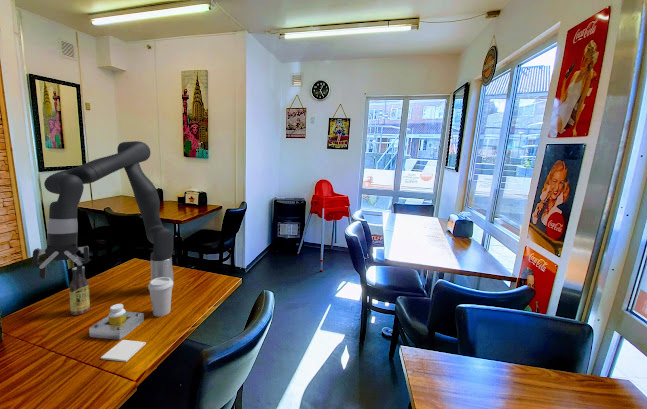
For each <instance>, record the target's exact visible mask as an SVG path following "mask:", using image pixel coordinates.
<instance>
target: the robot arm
mask: <svg viewBox="0 0 647 409" xmlns="http://www.w3.org/2000/svg"><path fill="white" fill-rule="evenodd" d="M150 157H151V149H150V147H149V145H148V144H147V143H145V142H143V141H140V140H139V141H138V140H137V141H136V140H135V141H122V142H120V143H119V144H118V146H117V153H115V154H110V155H107V156H103V157H99V158H95V159H93V160H90V161H88V162H85V163H83V164H81V165H79V166H77V167H73V168H69V169H65V170H61V171H58V172H55V173H53V174H51V175H49V176H48V177H47V178H45V181H44V183H43V184H44V185H43V186H44V188H45V190H46V191H47V192H49V193H51V194H57V195H58V198H57V200H55V201H52V202H51V203H50V205H49V206H48V207H49V208H48V209H49V210H48V211H49V212H48V223H47V230H46V231H47V236H46V238H47V239H46V248H35V249H33V252H32V258H31V264H30V265H31V268H37V269H39V278H40V279H42V280H46V279H47V272H48V271H47V270H48V268H47V265H48V264H49V263H51V261H55V262H57V261H58V262H59V261H68V260H71V261H72V262H74V264H76V267H77V276H79V275H80V274H81V273H82V267H83V265H86V264H88V263H89V262H90V248H89V246H88V245H84V246H78V230H79V228H78V226H79V225H78V224H79V223H78V205H79V204H80V202H81V199H82V196H83V193H84V188H85V186H84V185H87V184H88V185H89V184H92V183H95V182H97V181H99V180H101V179H103V178H104V177H107V176H108V175H111V174H113V173H115V172H117V171H120V170H122V169H124V171H125V172H126V176H127V178H128V181H129V183H130V185H131V188H132V191H133V195H134V198H135V202H136V204H137V206H138V210H139V212H140V215H141V218H142V220H143V224H144V229H145V235H146V238H147V241H149V242H150V243H151V244H153V251H152V252H151V253H150V275H151V276H150V281H151V280H153V279H155V278H159V277H169V278H171V280H172V281H173V282H174V269H173V253H174V233H173V231H172V230H171V229H169V228H166V227H164V224H163V223H162V220H161V217H160V205H161V201H160V197H159V193H158V190H157V188H156V186H155V184H154V183H153V182H152V181H151V180H150V178H148V176H147V175H146V174H145V172H144V171H143V169H142V168H141V167H142V166H141V165H140V163H143V162H146V161H147V160H149V158H150ZM79 251H80V253H81V254H83V259H81V258H80V257H79V256H78V255H77V253H78V252H79ZM43 253H45V254H46V256H48V258H46V259H45V260H44V261H43V262H42V263H41V262H40V256H42V255H43ZM173 288H174V283H173V285H172V289H173Z"/></svg>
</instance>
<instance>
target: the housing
mask: <svg viewBox="0 0 647 409" xmlns="http://www.w3.org/2000/svg"><path fill="white" fill-rule="evenodd" d="M144 317H145V314H144V313H143V312H134V311H133V312H132V311H126V321H125V322H123V323H122V324H121V325H119V326H115V325H109V315H107V316H106V317H104V318H102V319H101V320H99V321H98V322H97V323H94V324H93V325H92V326H90V327H89V330H88V331H89V337H90V338H98V339H109V340H118V341H120V340H121V341H122V340H123V339H124V337H126V336H127V335H128V334H129V333H131V332H132V331H133V330H134V329H135V328H137V327H139V325H141V324H142V323H143V322H144V321H145V320H144V319H145V318H144Z"/></svg>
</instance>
